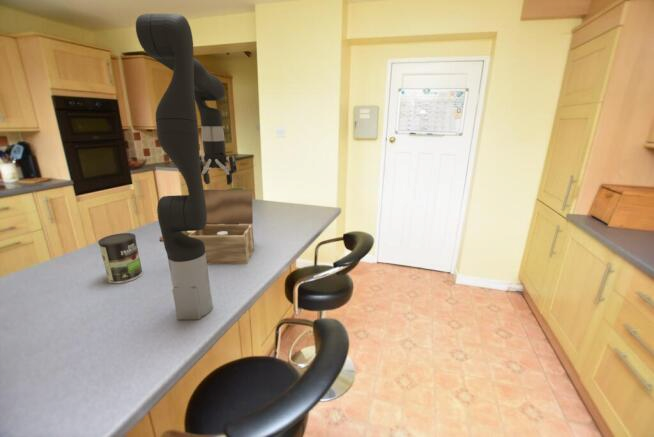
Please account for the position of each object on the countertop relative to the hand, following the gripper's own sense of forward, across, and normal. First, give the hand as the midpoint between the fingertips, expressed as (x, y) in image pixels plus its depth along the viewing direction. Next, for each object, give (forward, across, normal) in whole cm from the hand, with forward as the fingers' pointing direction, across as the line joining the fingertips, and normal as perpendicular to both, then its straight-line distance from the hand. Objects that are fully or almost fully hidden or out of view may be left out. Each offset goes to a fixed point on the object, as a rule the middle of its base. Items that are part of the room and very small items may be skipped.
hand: (218, 184), depth 113 cm
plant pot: (+30, +24, -68) cm, 78 cm away
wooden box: (+29, 0, +2) cm, 29 cm away
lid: (+11, +1, -6) cm, 12 cm away
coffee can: (+29, +26, +22) cm, 45 cm away
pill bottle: (+28, 0, +3) cm, 28 cm away
